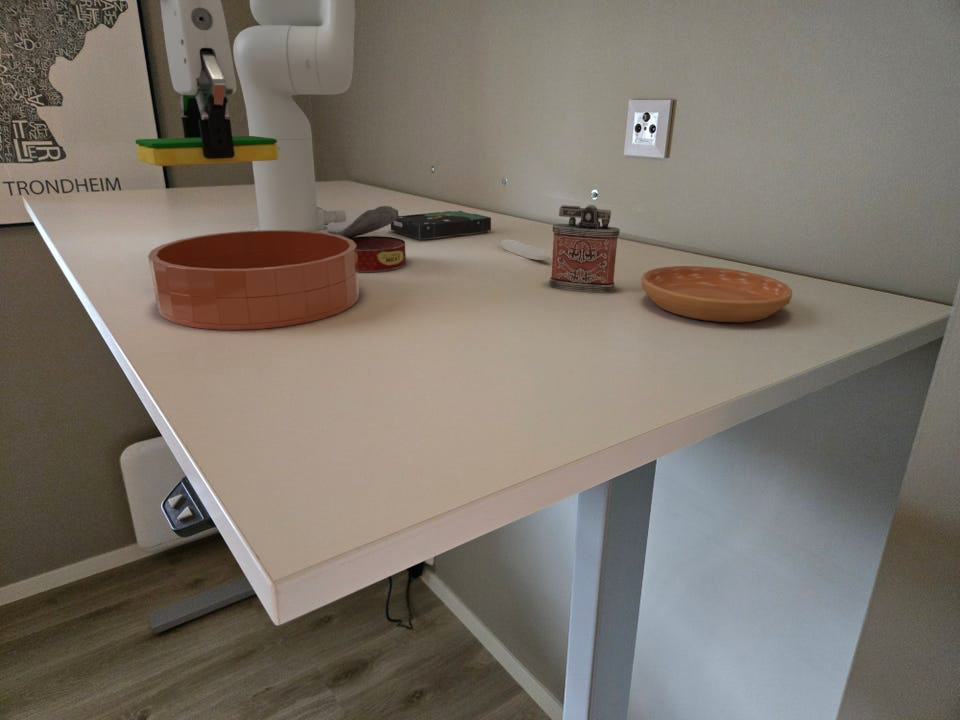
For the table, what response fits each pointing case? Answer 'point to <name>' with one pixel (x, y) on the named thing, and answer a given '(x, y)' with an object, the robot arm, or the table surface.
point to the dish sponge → (192, 151)
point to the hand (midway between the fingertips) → (209, 153)
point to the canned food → (376, 241)
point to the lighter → (584, 250)
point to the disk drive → (441, 224)
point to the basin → (254, 278)
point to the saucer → (715, 293)
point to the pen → (525, 250)
